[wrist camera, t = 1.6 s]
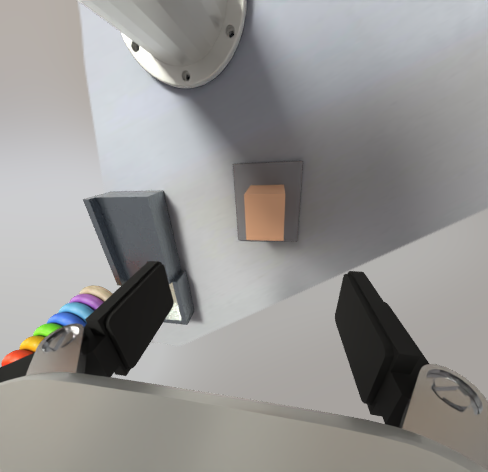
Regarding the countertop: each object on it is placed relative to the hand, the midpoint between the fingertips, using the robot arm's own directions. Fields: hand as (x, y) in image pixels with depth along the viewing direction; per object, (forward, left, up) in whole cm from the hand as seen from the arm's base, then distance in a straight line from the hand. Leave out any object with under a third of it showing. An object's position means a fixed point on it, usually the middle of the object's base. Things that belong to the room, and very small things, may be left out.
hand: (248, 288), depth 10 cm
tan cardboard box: (0, 0, -16) cm, 16 cm away
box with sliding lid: (+9, -18, -16) cm, 26 cm away
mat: (0, 0, -16) cm, 16 cm away
